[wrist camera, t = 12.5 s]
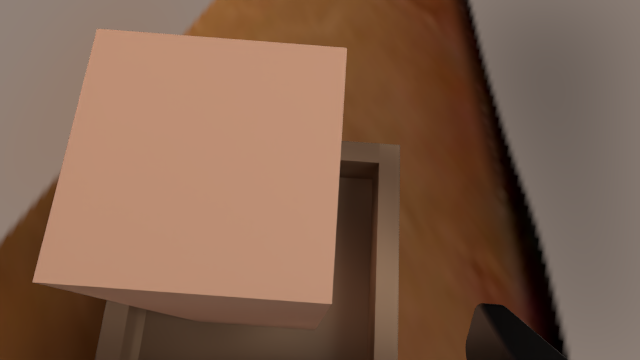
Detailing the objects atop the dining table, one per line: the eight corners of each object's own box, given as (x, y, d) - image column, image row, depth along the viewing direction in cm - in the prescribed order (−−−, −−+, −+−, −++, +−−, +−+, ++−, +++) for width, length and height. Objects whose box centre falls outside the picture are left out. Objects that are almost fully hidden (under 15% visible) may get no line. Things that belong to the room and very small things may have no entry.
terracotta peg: (314, 330, 19) (331, 303, 7) (197, 321, 19) (32, 282, 7) (322, 216, 20) (347, 47, 9) (213, 207, 20) (97, 29, 9)
